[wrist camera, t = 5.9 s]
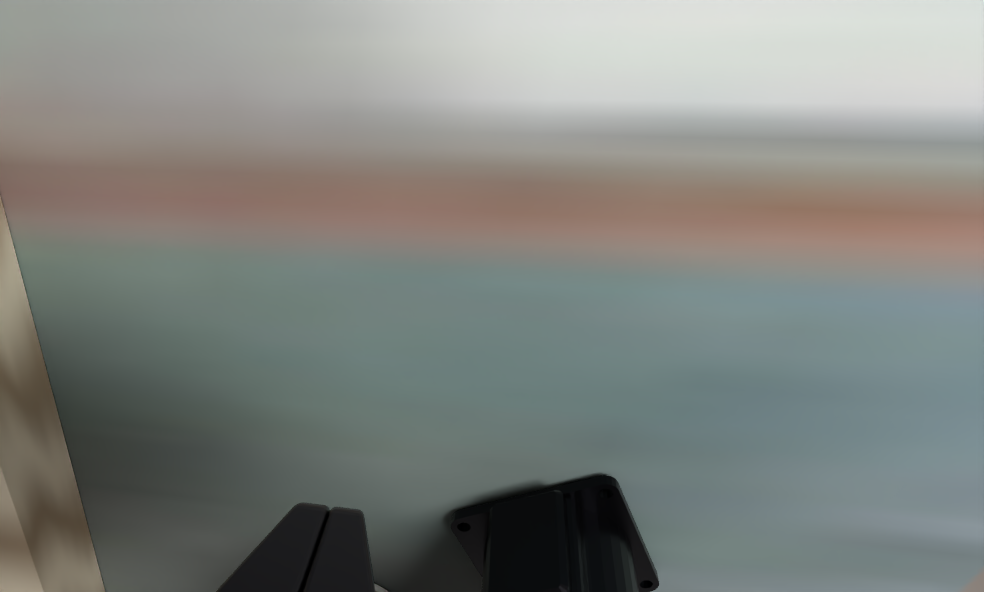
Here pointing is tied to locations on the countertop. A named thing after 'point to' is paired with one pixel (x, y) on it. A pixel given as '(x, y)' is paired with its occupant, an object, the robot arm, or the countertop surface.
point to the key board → (35, 459)
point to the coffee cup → (379, 588)
